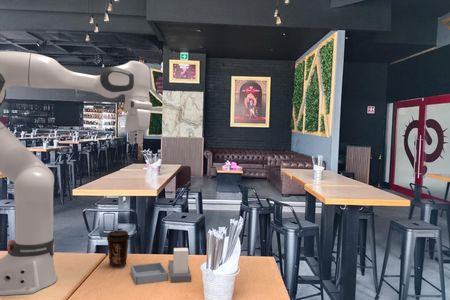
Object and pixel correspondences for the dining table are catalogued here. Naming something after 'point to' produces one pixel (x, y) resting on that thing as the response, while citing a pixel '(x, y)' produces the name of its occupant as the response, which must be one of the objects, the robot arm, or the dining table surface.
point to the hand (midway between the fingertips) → (135, 143)
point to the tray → (149, 273)
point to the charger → (180, 260)
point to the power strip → (178, 275)
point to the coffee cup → (117, 248)
